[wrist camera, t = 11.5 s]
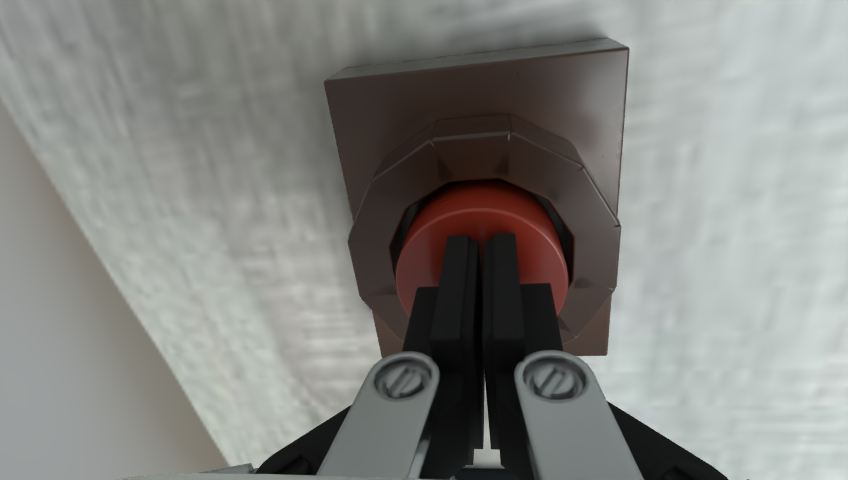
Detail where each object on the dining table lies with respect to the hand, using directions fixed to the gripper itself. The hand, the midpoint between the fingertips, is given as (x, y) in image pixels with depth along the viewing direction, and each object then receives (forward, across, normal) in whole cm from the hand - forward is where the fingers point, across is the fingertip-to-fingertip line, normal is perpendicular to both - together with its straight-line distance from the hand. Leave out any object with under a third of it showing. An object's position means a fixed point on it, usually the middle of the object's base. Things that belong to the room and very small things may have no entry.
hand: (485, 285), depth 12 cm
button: (+2, 0, 0) cm, 2 cm away
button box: (+5, 0, 0) cm, 5 cm away
